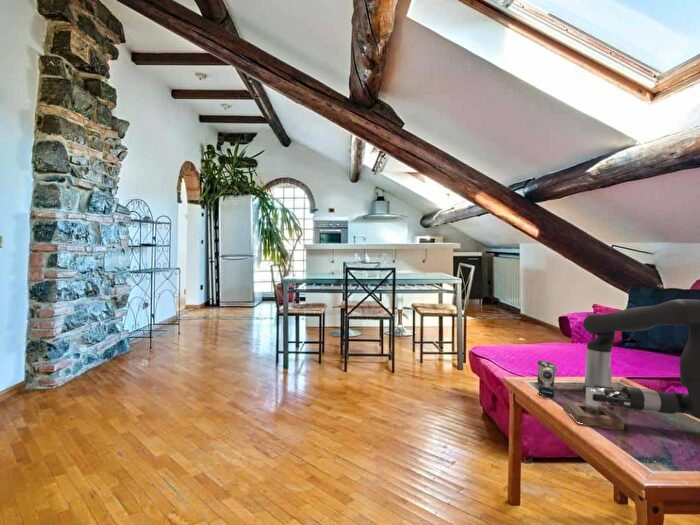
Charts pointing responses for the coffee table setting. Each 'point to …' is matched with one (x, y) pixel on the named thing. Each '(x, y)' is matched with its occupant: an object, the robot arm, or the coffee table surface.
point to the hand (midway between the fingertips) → (588, 392)
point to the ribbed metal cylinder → (592, 401)
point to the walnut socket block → (594, 416)
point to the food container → (542, 366)
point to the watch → (547, 382)
